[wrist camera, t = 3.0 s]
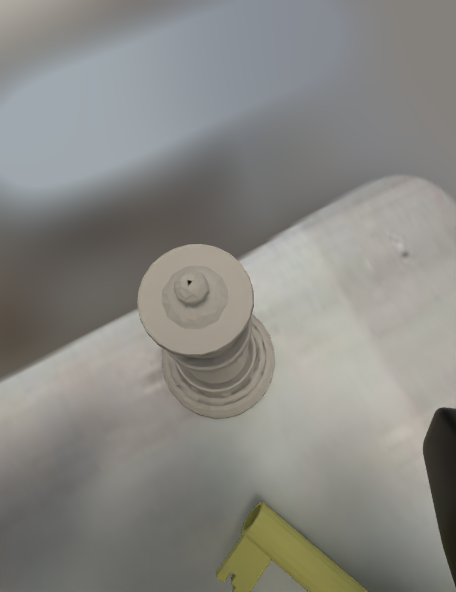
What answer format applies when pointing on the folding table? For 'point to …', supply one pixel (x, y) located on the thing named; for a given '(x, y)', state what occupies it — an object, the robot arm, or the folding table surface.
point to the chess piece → (207, 330)
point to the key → (281, 556)
